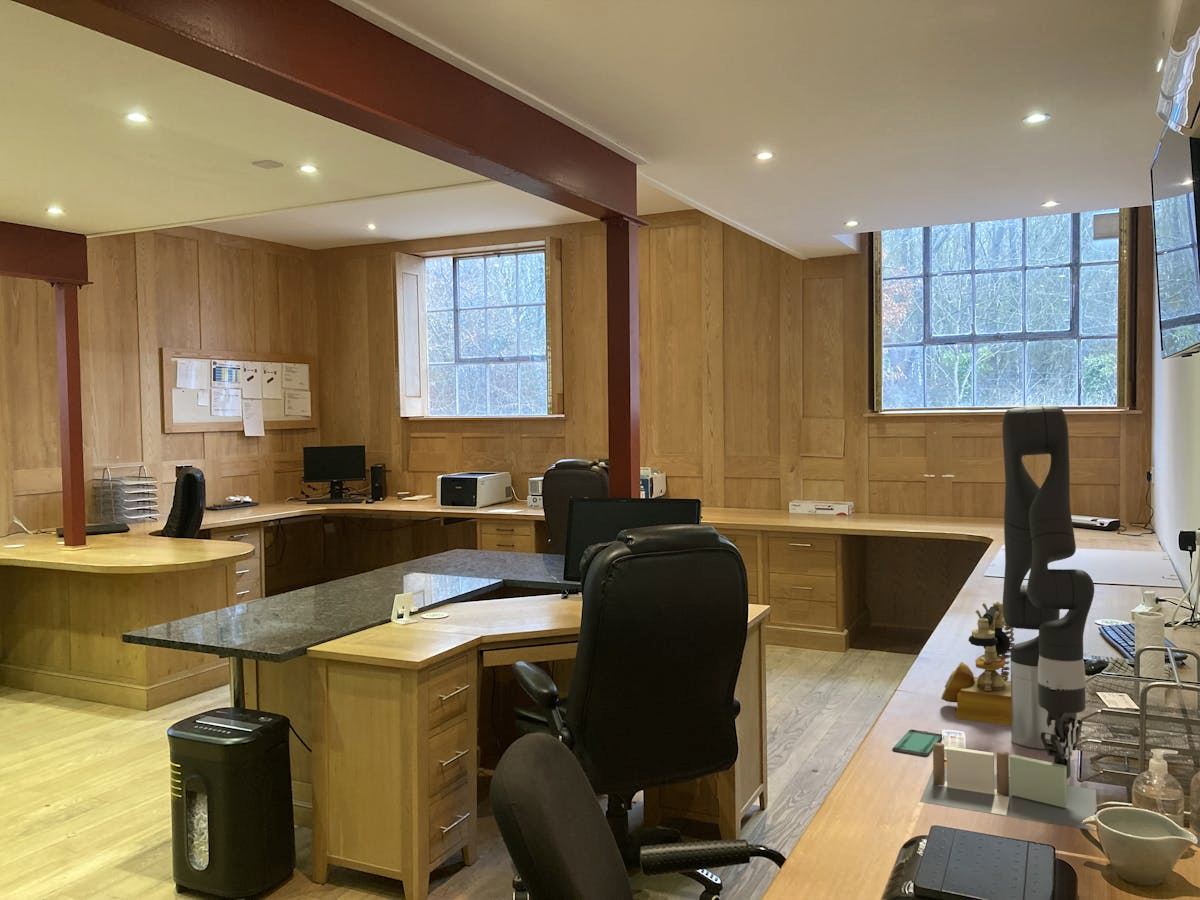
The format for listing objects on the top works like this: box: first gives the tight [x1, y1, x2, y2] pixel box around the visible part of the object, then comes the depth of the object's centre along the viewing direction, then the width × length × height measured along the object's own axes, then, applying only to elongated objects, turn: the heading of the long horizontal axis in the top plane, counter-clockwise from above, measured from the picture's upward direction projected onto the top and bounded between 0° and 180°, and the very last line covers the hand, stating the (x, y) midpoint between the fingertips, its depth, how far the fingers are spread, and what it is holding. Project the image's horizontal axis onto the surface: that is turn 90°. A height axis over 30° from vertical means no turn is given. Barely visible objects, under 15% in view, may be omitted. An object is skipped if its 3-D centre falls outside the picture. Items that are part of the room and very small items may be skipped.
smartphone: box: [892, 729, 943, 758], centre depth 194 cm, size 7×1×15 cm
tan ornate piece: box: [940, 601, 1016, 727], centre depth 218 cm, size 35×18×25 cm, turn 148°
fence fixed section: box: [932, 742, 1010, 796], centre depth 169 cm, size 2×13×7 cm, turn 62°
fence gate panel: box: [1009, 754, 1068, 808], centre depth 162 cm, size 9×2×7 cm, turn 49°
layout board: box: [919, 766, 1098, 832], centre depth 165 cm, size 19×28×1 cm
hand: (1062, 777), depth 163 cm, fingers closed
